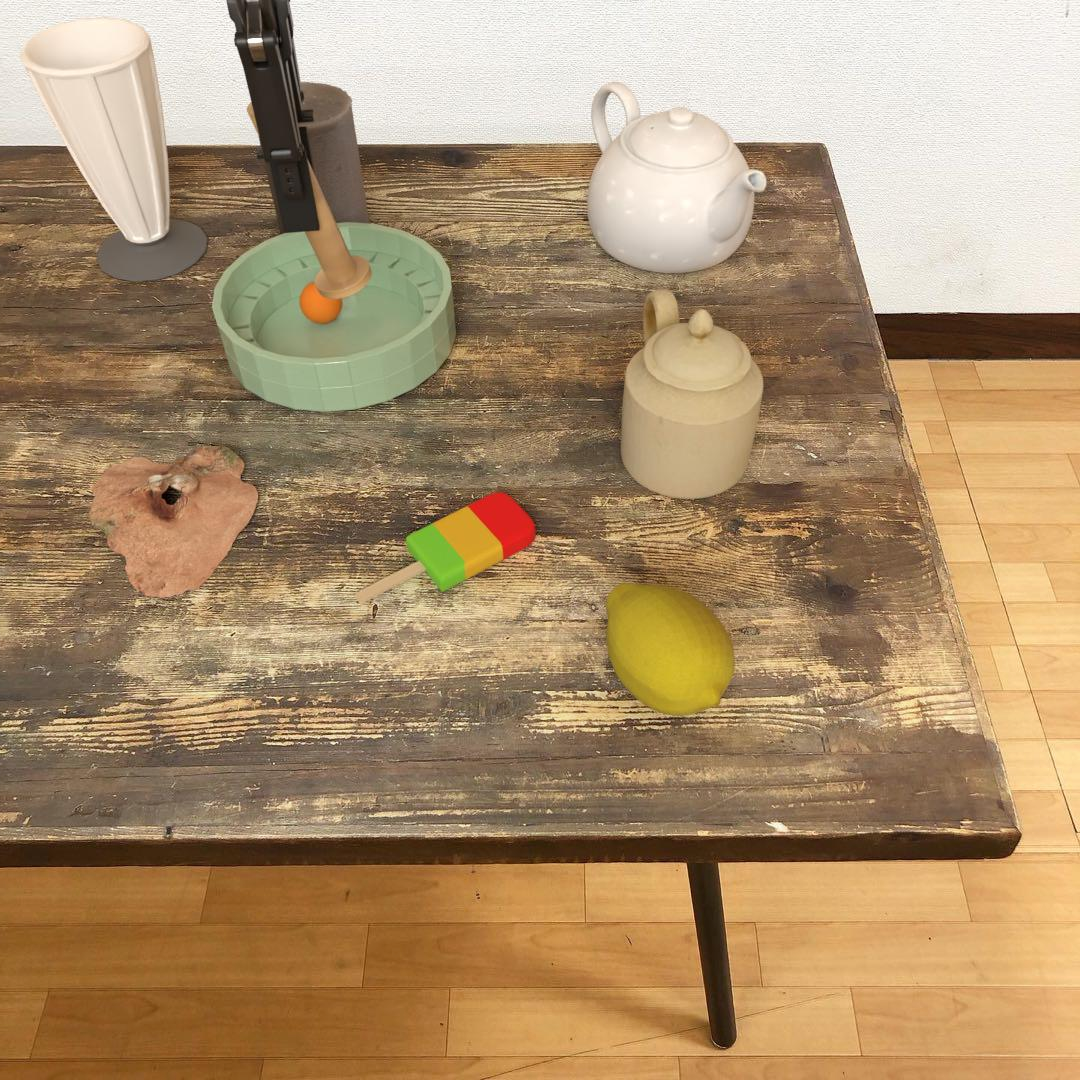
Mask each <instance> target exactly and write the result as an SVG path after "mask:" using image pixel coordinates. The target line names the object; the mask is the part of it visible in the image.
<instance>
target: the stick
mask: <svg viewBox="0 0 1080 1080" xmlns="http://www.w3.org/2000/svg"><path fill="white" fill-rule="evenodd" d="M246 113H247V115H248V116H249V119H250V121H251V123H252V125H253V127H254V129H255V131H256V133H257V136H258V135H259V132H258V128H257V124H256V120H255V115H254V111H253V107H252V103H251V102H249V103H248V105H247V106H246ZM259 138H260V137H259V136H258V139H259ZM307 160H308V159H307ZM308 165H309V171H310V176H311V182H312V187H313V192H314V198H315V203H316V209H317V214H318V220H319V225H320V226H319V231H307V232H305V234H306V236H307V238H308V240H309V242H310V244H311V246H312V249H313V251H314V253H315V255H316V257H317V259H318V261H319V263H320V265H321V267H322V269H321V270H320V271H319V272H318V274H317V275H316V278H315V286H316V288H317V290H318V292H319V293H320V295H321V296H323V297H325V298H328V299H341V298H345V297H348V296H351V295H353V294H355V293H357V292H358V291H360V290H361V289H363V288H364V287H365V286H366V285H367V284H368V282H369V281H370V279H371V277H372V270H371V267H370V265H369V263H368V261H367V260H366V259H365V258H363V257H360V256H351V255H350V253H349V250H348V248H347V246H346V244H345V241H344V239H343V237H342V235H341V232H340V230H339V228H338V226H337V224H336V221H335V219H334V217H333V215H332V212H331V210H330V208H329V206H328V203H327V201H326V199H325V197H324V195H323V192H322V190H321V188H320V186H319V183H318V181H317V179H316V177H315V174H314V172H313V170H312V168H311V165H310V163H309V161H308Z"/></svg>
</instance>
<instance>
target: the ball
mask: <svg viewBox="0 0 1080 1080" xmlns="http://www.w3.org/2000/svg"><path fill="white" fill-rule="evenodd" d="M299 303H300V308H301V311H302V312H303V314H304V315H305V317H306V318H308V319H309V320H310V321H312V322H315V323H319V324H325V323H329V322H331V321H333V320H334V319H336V318H337V316H338V315H339V314H340V312H341V309H342V298H341V299H328V298H325V297H323V296H321V295H320V293H319V292H318V290H317V288H316V286H315V282H312V283H310V284H308V285H307V286H306V287H305V288H304V289H303V290H302V292H301V295H300V300H299Z"/></svg>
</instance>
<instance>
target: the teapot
mask: <svg viewBox="0 0 1080 1080" xmlns="http://www.w3.org/2000/svg"><path fill="white" fill-rule="evenodd" d="M611 93H612V94H614V95H615V96H616V97H617V98H618V100H619V101H620V103H621V104H622V107H623V109H624V113H625V122H626V123H625V126H624V127H623V128H622V130H621V132H620V133H619V134H618V135H617V136H616V138H614V139H612V137H611V134H610V131H609V128H608V125H607V119H606V105H607V101H608V98H609V97H610V95H611ZM590 109H591V112H590V113H591V114H590V117H591V126H592V130H593V134H594V138H595V140H596V142H597V145H598V148H599V149H600V152H601V156H600V157H599V159H598V160H597V162H596V164H595V166H594V169H593V171H592V174H591V176H590V181H589V184H588V189H587V197H586V211H587V212H586V213H587V219H588V224H589V229H590V231H591V234H592V236H593V237H594V239H595V241H596V242H597V244H598V245H599V246H600V247H601V249H602V250H603V251H604V252H605V253H607V254H608V255H609V256H610V257H611V258H613V259H614V260H617V261H619V262H621V263H623V264H624V265H627V266H630V267H633V268H636V269H639V270H643V271H647V272H651V273H659V274H685V273H686V274H687V273H693V272H699V271H703V270H707V269H709V268H712V267H715V266H717V265H719V264H721V263H723V262H724V261H726V260H728V258H730V257H731V256H732V255H733V254H734V253H735V252H736V251H737V250H738V249H739V248H740V247H741V245H743V243H744V240H745V239H746V237H747V235H748V233H749V229H750V228H751V223H752V220H753V215H754V209H755V193H762V192H764V191H765V190H766V187H767V184H768V183H767V176H766V175H765V173H764V172H763V171H761V170H759V169H755V168H749V165H748V162H747V161H746V159H745V157H744V155H743V153H742V152H741V150H740V149H739V148H738V146H737V145H736V144H735V142H734V140H733V137H732V135H731V134H730V133H729V132H728V130H726V128H724V127H723V126H722V125H720V124H718V123H717V122H716V121H714V120H713V119H711V118H710V117H708V116H706V115H704V114H701V113H699V112H695V111H692V110H691V109H690V108H688V107H684V106H676V107H673V108H671V109H670V110H664V111H660V112H657V113H651V114H647V115H642V116H641V110H640V109H641V108H640V105H639V102H638V99H637V98H636V95H635V94H634V92H633V91H632V90H631V88H629V87H628V86H627V85H626V84H624V83H623V82H620V81H613V82H609V83H606V84H604V85H602V86H601V87H599V89H598V90H597V92H596V93H595V95H594V97H593V99H592V103H591V108H590Z"/></svg>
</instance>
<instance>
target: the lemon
mask: <svg viewBox="0 0 1080 1080" xmlns="http://www.w3.org/2000/svg"><path fill="white" fill-rule="evenodd" d="M605 603H606V604H605V607H606V616H607V626H606V634H605V638H606V639H605V642H606V648H607V654H608V658H609V660H610V663H611V665H612V668H613V670H614V673H615V675H616V676H617V678H618V679H619V682H620V683H621V684H622V685H623V686H624V688H625V689H626V691H628V692H629V694H631V695H632V696H633V697H634V698H636V700H638V701H639V702H640V703H641V704H643V705H644V706H646V707H648V708H649V709H651V710H653V711H655V712H657V713H661V714H663V715H667V716H673V717H683V716H691V715H694V714H698V713H701V712H704V711H706V710H708V709H710V708H717V707H718V706H720V704H721V701H722V699H721V698H722V696H723V695H724V693H725V692H726V690H727V689H728V687H729V685H730V682H731V681H732V678H733V676H734V672H735V666H736V661H735V652H734V647H733V646H734V645H733V643H732V639H731V637H730V635H729V632H728V631H727V629H726V628H725V626H724V625H723V623H722V622H721V620H720V619H719V618H718V617H717V615H716V614H715V613H714V612H713V610H711V609H710V608H709V607H708V606H707V605H706V604H704V603H703V602H702V601H701V600H699V599H698V598H697V597H695V596H694V595H693V594H691V593H689V592H686V591H685V590H682V589H679V588H675V587H672V586H668V585H663V584H641V583H631V582H622V583H620V584H618V585H616V586H615V587H614V588H613V589H611V591H609V594H608V596H607V598H606V602H605Z"/></svg>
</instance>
